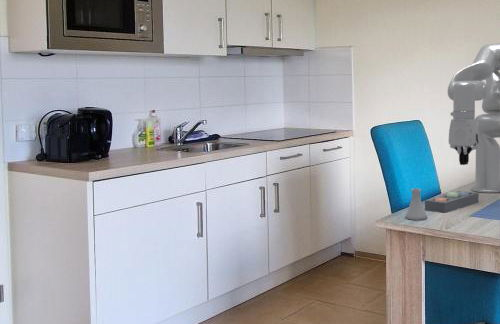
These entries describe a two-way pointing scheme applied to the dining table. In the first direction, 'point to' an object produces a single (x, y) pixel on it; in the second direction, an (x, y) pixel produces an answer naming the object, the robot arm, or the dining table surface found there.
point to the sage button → (452, 194)
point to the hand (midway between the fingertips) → (463, 164)
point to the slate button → (463, 193)
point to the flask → (416, 207)
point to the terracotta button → (440, 199)
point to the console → (451, 202)
